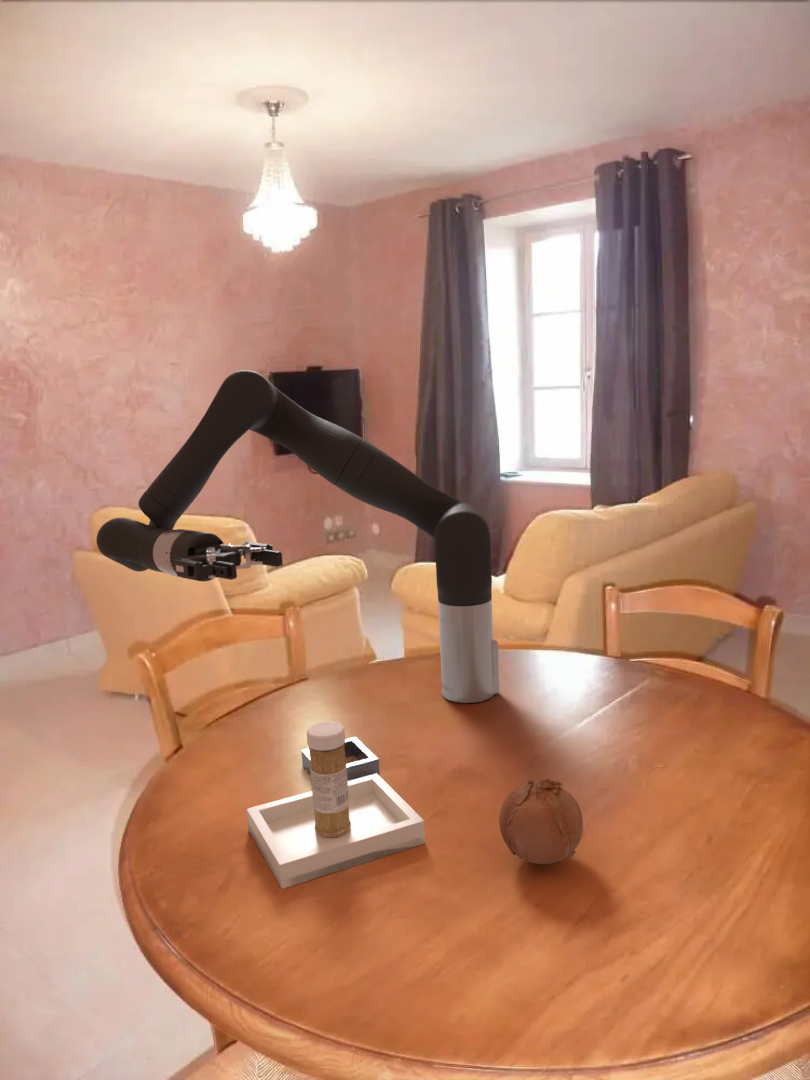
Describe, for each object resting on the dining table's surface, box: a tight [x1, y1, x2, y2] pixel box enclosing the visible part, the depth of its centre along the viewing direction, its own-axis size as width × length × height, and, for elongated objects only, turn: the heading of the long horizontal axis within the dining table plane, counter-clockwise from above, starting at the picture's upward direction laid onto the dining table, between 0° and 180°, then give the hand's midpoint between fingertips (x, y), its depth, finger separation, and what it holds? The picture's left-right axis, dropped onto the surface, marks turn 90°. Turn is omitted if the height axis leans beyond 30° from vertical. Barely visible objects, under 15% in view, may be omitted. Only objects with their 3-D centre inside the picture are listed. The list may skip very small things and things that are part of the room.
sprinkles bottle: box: [306, 721, 351, 837], centre depth 101 cm, size 5×5×14 cm
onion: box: [498, 778, 584, 866], centre depth 94 cm, size 10×9×10 cm
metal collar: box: [300, 736, 380, 781], centre depth 119 cm, size 9×9×2 cm
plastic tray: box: [246, 773, 426, 890], centre depth 102 cm, size 18×14×3 cm
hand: (258, 565), depth 118 cm, fingers open, 8 cm apart
